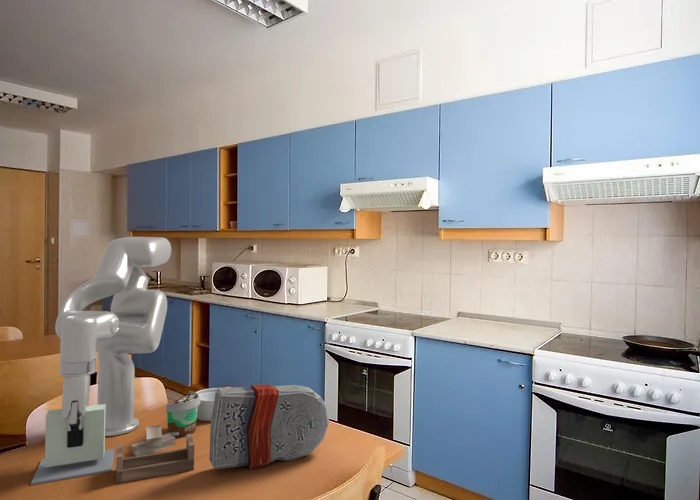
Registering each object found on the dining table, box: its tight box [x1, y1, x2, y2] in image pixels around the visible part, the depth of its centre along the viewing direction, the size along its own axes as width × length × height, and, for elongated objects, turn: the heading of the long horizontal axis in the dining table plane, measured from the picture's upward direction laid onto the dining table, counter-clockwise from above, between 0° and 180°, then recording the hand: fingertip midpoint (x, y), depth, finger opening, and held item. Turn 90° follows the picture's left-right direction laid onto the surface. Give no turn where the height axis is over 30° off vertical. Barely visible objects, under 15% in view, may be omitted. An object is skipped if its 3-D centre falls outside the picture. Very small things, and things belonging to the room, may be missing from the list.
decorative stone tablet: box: [208, 384, 330, 470], centre depth 114 cm, size 19×6×30 cm
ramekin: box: [195, 387, 219, 422], centre depth 144 cm, size 13×13×7 cm
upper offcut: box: [145, 424, 163, 449], centre depth 120 cm, size 4×8×2 cm, turn 25°
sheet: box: [44, 404, 106, 467], centre depth 109 cm, size 4×12×12 cm, turn 115°
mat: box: [30, 448, 116, 486], centre depth 109 cm, size 12×16×1 cm
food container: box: [165, 390, 201, 439], centre depth 130 cm, size 12×6×10 cm, turn 168°
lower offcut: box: [130, 432, 176, 456], centre depth 120 cm, size 4×10×2 cm, turn 141°
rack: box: [115, 434, 195, 484], centre depth 108 cm, size 7×17×6 cm, turn 115°
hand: (76, 441), depth 109 cm, fingers closed on sheet, 4 cm apart
